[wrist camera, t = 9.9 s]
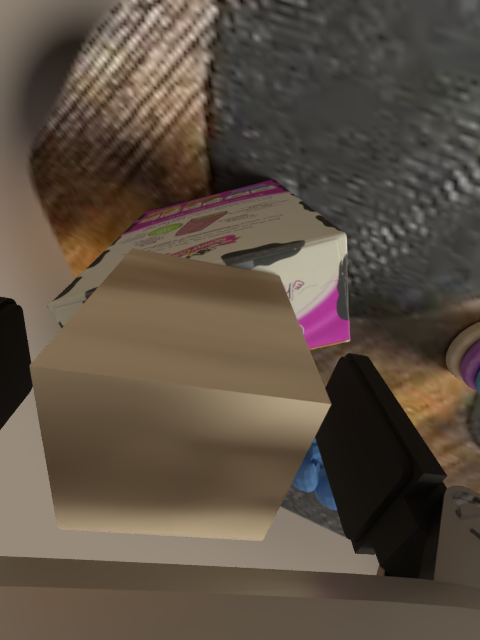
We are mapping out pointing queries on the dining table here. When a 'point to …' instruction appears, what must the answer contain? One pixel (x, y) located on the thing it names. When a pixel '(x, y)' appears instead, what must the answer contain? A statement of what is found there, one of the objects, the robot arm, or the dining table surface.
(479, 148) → the dining table surface
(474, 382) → the stacking toy
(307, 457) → the grapes
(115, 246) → the candy bar box
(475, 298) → the dining table surface
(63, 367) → the beech block
